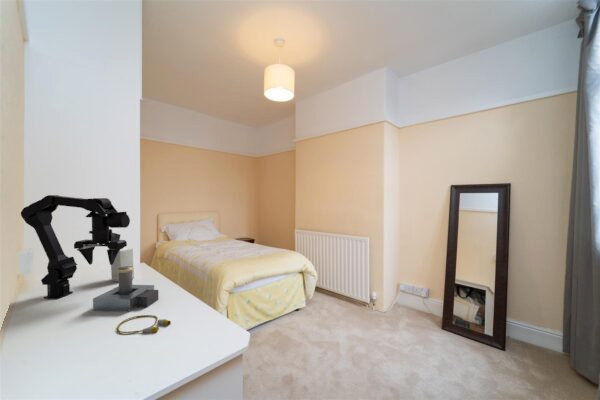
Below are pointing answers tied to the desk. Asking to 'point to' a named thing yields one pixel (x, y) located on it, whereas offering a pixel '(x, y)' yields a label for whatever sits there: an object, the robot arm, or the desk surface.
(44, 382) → the desk surface
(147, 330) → the extension cord
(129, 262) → the skincare box
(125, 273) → the plug
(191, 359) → the desk surface
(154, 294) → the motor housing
